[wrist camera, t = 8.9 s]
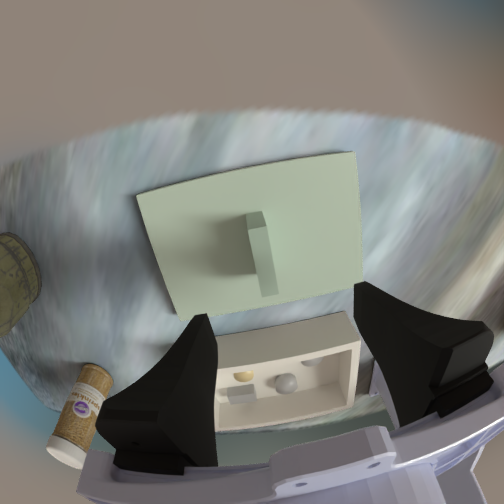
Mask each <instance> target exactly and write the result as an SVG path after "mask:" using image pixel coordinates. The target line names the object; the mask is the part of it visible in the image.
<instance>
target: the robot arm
mask: <svg viewBox="0 0 504 504" xmlns="http://www.w3.org/2000/svg"><path fill="white" fill-rule="evenodd" d="M354 319H355V322H356V324H357V327H358V329H359V332H360V334H361V336H362V337H363V339H364V341H365V343H366V344H367V346H368V348H369V349H370V351H371V353H372V355H373V356H374V358H375V362H374V368H373V374H372V379H371V384H370V390H369V396H375V395H378V394H380V396H381V398H382V400H383V402H384V404H385V406H386V409H387V411H388V413H389V415H390V417H391V420H392V422H393V424H394V426H395V429H396V430H394V431H391V432H388V431H387V428H386V427H382V426H376V425H375V426H370V427H366V428H361V429H358V430H355V431H351V432H348V433H344V434H341V435H337V436H333V437H330V438H325V439H321V440H317V441H312V442H308V443H303V444H298V445H294V446H290V447H287V448H283V449H281V450H279V451H277V452H276V453H274V454H273V455H271V457H270V460H269V462H268V463H259V464H249V465H238V466H220V467H218V460H217V451H216V439H215V422H214V398H215V388H216V379H217V369H218V344H217V341H216V338H215V335H214V333H213V330H212V327H211V324H210V321H209V318H208V315H207V313H205V314H198V315H194V317H193V318H192V320H191V321H190V322H189V324H188V325H187V327H186V328H185V330H184V331H183V332H182V334H181V335H180V337H179V338H178V339H177V341H176V342H175V343H174V345H173V346H172V347H171V348H170V349H169V351H168V352H167V353H166V354H165V355H164V357H163V358H162V359H161V360H160V361H159V362H158V363H157V364H156V365H155V366H154V367H153V368H152V369H151V370H149V371H148V372H147V373H146V374H145V375H143V376H142V377H141V378H140V379H139V380H137V381H136V382H135V383H133V384H132V385H130V386H129V387H127V388H126V389H124V390H123V391H121V392H119V393H118V394H116V395H114V396H112V397H110V398H108V399H106V400H104V401H103V403H102V406H101V408H100V411H99V414H98V416H97V419H96V422H95V427H96V429H97V431H98V432H99V434H100V435H101V436H102V437H103V438H104V439H105V440H106V441H107V442H109V443H110V444H111V445H112V446H113V447H114V448H115V449H116V453H115V455H113V454H111V453H108V452H103V451H98V450H92V449H88V452H87V455H86V458H85V461H84V465H83V468H82V472H81V475H80V479H79V483H78V486H77V490H76V492H77V493H78V494H79V495H81V496H83V497H85V498H86V499H88V500H90V501H92V502H94V503H96V504H487V502H486V499H485V497H484V495H483V492H482V490H481V488H480V486H479V483H478V481H477V479H476V477H475V475H474V473H473V469H474V467H475V465H476V463H477V461H478V459H479V457H480V455H481V453H482V451H483V449H484V447H485V444H486V443H487V442H489V441H490V440H491V439H492V438H494V437H495V436H496V435H498V434H499V433H500V432H501V431H503V430H504V363H503V364H502V365H500V366H499V367H498V368H496V369H495V370H494V371H492V373H491V374H490V375H489V374H488V372H487V371H486V370H487V369H488V365H487V364H486V363H485V360H486V358H487V356H488V354H489V352H490V349H491V347H492V344H493V340H494V334H493V332H492V331H491V330H490V329H489V328H488V327H487V326H486V325H485V324H484V323H483V322H482V321H469V320H460V319H454V318H449V317H444V316H440V315H437V314H433V313H430V312H427V311H424V310H421V309H419V308H416V307H414V306H411V305H409V304H407V303H405V302H403V301H401V300H399V299H397V298H395V297H393V296H391V295H389V294H388V293H386V292H384V291H382V290H381V289H379V288H377V287H375V286H373V285H372V284H370V283H368V282H366V281H364V282H360V283H356V284H354Z"/></svg>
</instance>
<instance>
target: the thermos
mask: <svg viewBox="0 0 504 504" xmlns="http://www.w3.org/2000/svg"><path fill="white" fill-rule="evenodd" d="M41 287H42V283H41V274H40V271H39V267H38V264H37V262H36V260H35V258H34V255H33V253H32V252H31V250H30V249H29V248H28V246H27V245H26V243H25V242H24V241H23V240H21V239H20V238H19V237H18V236H17V235H14V234H12V233H10V232H8V233H2V234H0V337H3V336H5V335H7V334H8V333H9V332H10V330H11V329H12V328H13V327H14V326H15V324H16V323H17V322H18V321H19V320H20V318H21V317H22V316H23V315H24V314H25V313H26V311H27V310H28V309H29V305H30V304H31V303H33V302H34V301H35V300H36V299H37V297H38V296H39V295H40V291H41Z"/></svg>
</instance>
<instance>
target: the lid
mask: <svg viewBox="0 0 504 504" xmlns="http://www.w3.org/2000/svg"><path fill="white" fill-rule="evenodd" d="M136 197H137V200H138V204H139V207H140V210H141V214H142V217H143V220H144V223H145V227H146V230H147V233H148V236H149V239H150V242H151V245H152V248H153V251H154V254H155V257H156V259H157V262H158V265H159V268H160V271H161V273H162V276H163V279H164V281H165V284H166V287H167V289H168V292H169V295H170V297H171V300H172V302H173V305H174V307H175V310H176V312H177V315H178V317H179V319H180V321H185V320H192V318H193V317H194V315H198V314H205V313H207V315H208V317H211V316H217V315H223V314H229V313H234V312H240V311H245V310H251V309H256V308H261V307H266V306H272V305H277V304H281V303H286V302H291V301H296V300H301V299H305V298H310V297H314V296H319V295H323V294H328V293H332V292H336V291H340V290H344V289H349V288H353V287H354V284H356V283H360V282H363V260H362V227H361V209H360V196H359V184H358V174H357V165H356V156H355V152H353V151H347V152H338V153H330V154H323V155H315V156H308V157H302V158H295V159H289V160H283V161H277V162H271V163H266V164H261V165H255V166H250V167H245V168H240V169H235V170H231V171H226V172H221V173H217V174H212V175H208V176H204V177H200V178H195V179H191V180H187V181H183V182H179V183H176V184H172V185H168V186H164V187H161V188H157V189H153V190H150V191H146V192H143V193H140V194H138V195H136Z"/></svg>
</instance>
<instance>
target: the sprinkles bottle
mask: <svg viewBox="0 0 504 504" xmlns="http://www.w3.org/2000/svg"><path fill="white" fill-rule="evenodd" d="M112 385H113V380H112V378H111V376H110V375H109V373H108V372H107V371H105V370H104V369H102V368H101V367H99V366H97V365H94V364H87V365H84V366H83V367H82V371H81V373H80V375H79V377H78V379H77V381H76V383H75V384H74V386H73V388H72V390H71V392H70V394H69V397H68V399H67V401H66V403H65V405H64V407H63V410H62V412H61V414H60V418H59V421H58V423H57V425H56V427H55V430H54V432H53V434H52V436H50V438H49V440H48V443H47V446H46V449H47V451H48V452H49V453H50V454H51V455H52V456H53V457H55V458H56V459H58V460H59V461H61V462H63V463H65V464H67V465H69V466H71V467H74V468H77V469H82V468H83V465H84V461H85V458H86V455H87V452H88V449H89V447H90V444H91V441H92V438H93V435H94V434H95V431H96V427H95V422H96V419H97V416H98V414H99V411H100V408H101V406H102V403H103V401H104V400H106V398H107V396H108V393H109V390H110V388H111V387H112Z"/></svg>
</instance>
